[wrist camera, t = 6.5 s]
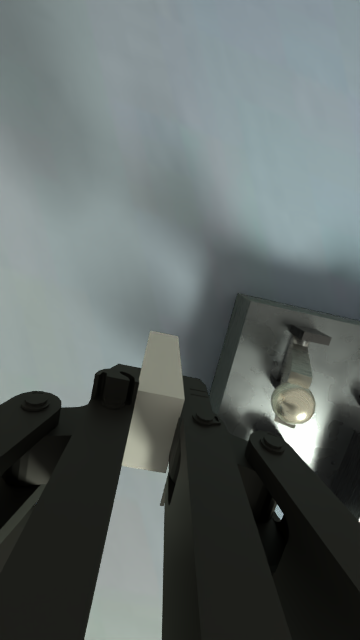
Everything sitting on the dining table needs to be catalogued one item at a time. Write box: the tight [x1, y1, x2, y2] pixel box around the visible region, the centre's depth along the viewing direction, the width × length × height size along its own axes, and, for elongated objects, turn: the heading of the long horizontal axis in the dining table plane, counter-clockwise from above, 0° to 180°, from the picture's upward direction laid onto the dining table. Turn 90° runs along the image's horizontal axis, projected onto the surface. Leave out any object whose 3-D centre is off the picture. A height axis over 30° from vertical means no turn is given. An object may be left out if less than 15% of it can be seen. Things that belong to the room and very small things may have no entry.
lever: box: [271, 343, 316, 429], centre depth 17 cm, size 2×3×8 cm
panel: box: [209, 293, 360, 522], centre depth 24 cm, size 21×16×8 cm
